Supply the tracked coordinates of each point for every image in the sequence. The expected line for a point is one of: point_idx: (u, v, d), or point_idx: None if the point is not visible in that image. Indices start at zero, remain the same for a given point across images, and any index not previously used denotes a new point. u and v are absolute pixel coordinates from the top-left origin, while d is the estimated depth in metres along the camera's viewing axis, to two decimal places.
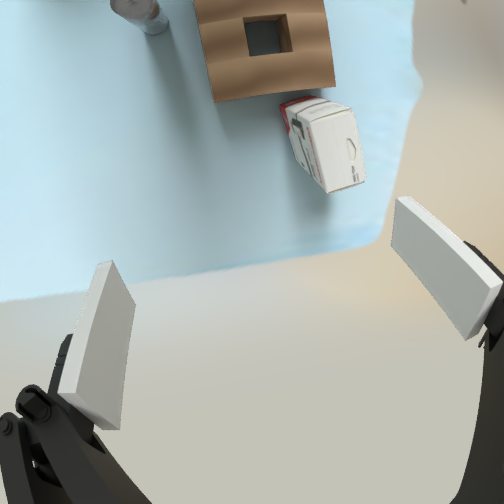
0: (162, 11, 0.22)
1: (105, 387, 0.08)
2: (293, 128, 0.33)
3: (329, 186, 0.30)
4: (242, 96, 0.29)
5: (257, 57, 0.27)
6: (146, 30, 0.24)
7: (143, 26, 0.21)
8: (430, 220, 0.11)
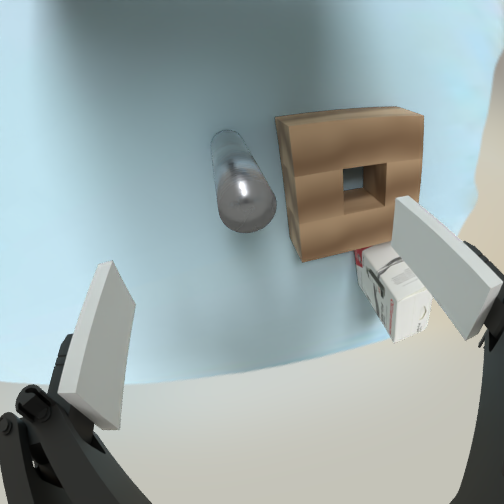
0: None
1: (105, 387, 0.08)
2: (368, 274, 0.34)
3: (397, 339, 0.31)
4: (329, 254, 0.31)
5: (351, 215, 0.28)
6: None
7: None
8: (430, 220, 0.11)
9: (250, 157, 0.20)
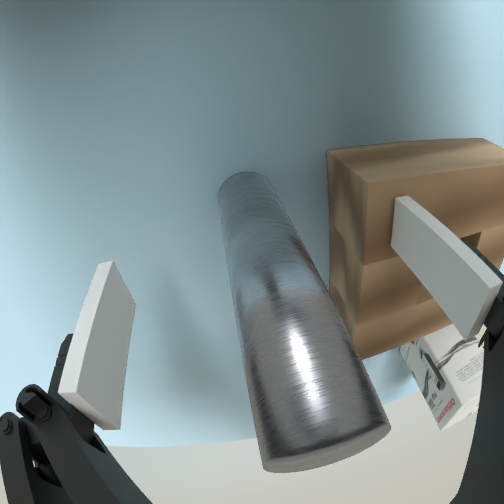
0: None
1: (105, 387, 0.08)
2: (422, 356, 0.24)
3: (445, 427, 0.21)
4: (386, 349, 0.20)
5: (424, 303, 0.18)
6: None
7: None
8: (430, 220, 0.11)
9: (313, 274, 0.09)
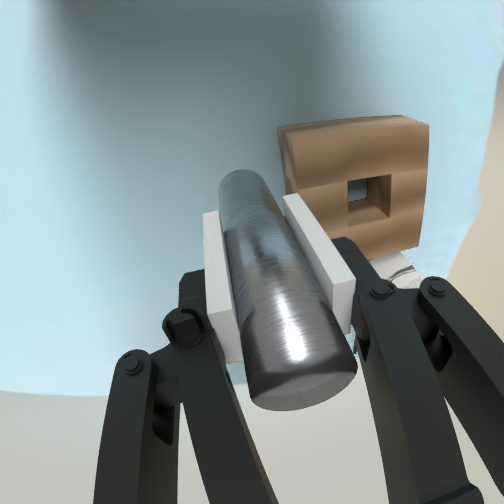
0: None
1: None
2: None
3: None
4: None
5: (355, 227, 0.28)
6: None
7: None
8: (304, 216, 0.12)
9: (295, 246, 0.12)
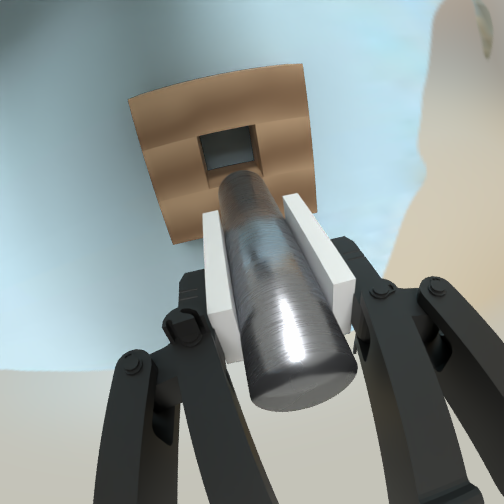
0: None
1: None
2: None
3: None
4: None
5: (218, 189, 0.25)
6: None
7: None
8: (304, 216, 0.12)
9: (295, 247, 0.12)
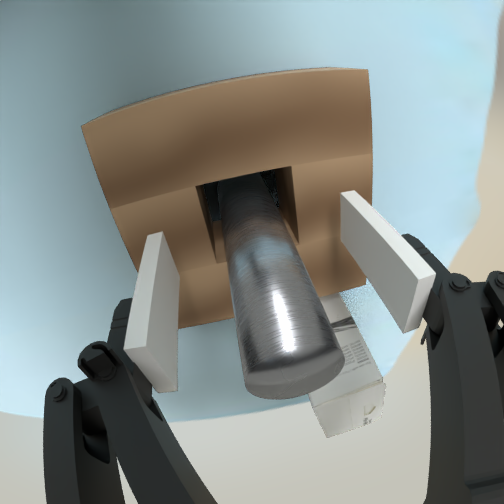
0: None
1: (165, 346, 0.10)
2: None
3: (330, 434, 0.20)
4: (210, 320, 0.19)
5: None
6: None
7: None
8: (369, 213, 0.12)
9: (289, 244, 0.12)
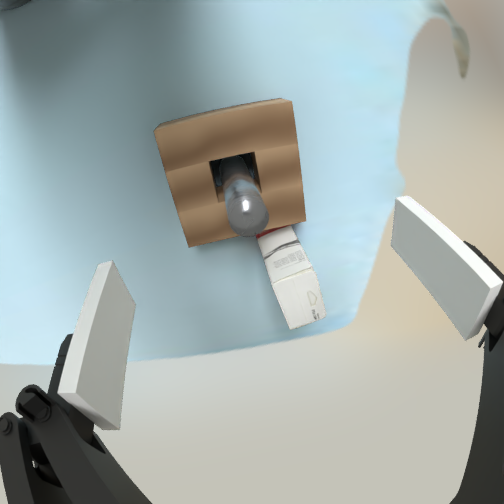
0: None
1: (105, 387, 0.08)
2: None
3: (291, 325, 0.35)
4: (214, 240, 0.35)
5: None
6: None
7: None
8: (430, 220, 0.11)
9: (251, 180, 0.27)
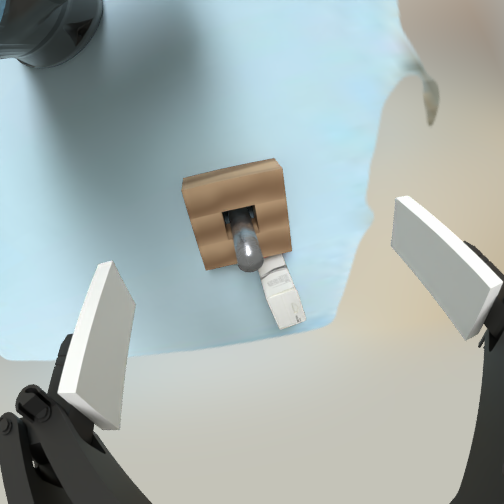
0: (252, 224, 0.44)
1: (105, 387, 0.08)
2: None
3: (280, 326, 0.48)
4: (224, 265, 0.48)
5: None
6: None
7: None
8: (430, 220, 0.11)
9: (251, 230, 0.40)
